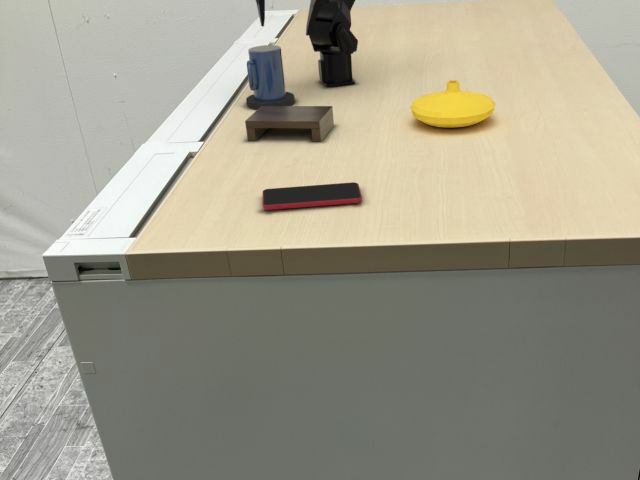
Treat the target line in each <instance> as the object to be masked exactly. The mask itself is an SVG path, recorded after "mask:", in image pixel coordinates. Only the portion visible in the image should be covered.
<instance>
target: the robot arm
mask: <svg viewBox="0 0 640 480" xmlns="http://www.w3.org/2000/svg"><path fill="white" fill-rule="evenodd" d="M355 2H356V0H310V2H309V9H308V15H307V21H306V26H305V36H308V37H309V40H310V43H311V46H312V50H313V52H314V53H319V59H318V60H317V64H318V76H319V77H318V78H319V81H320V82H321V83H322V84H323V86H325V87H326V88H331V87H338V86H346V85H354V84H356V80H354V78H353V65H352V62H353V61H352V55H353V54H354V53H356V52H357V51H358V45H359V40H358V38H357V37H356V36H355V34H353V32H352V30H351V27H352V16H351V11H352V9H353V6H354V4H355ZM255 4H256V7H257V13H258V18H259V22H260V26H261V27H265V21H266V20H265V19H266V6H265V5H266V0H255Z"/></svg>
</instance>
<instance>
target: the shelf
mask: <svg viewBox="0 0 640 480" xmlns="http://www.w3.org/2000/svg"><path fill="white" fill-rule="evenodd" d="M244 123H245V124H244V125H245V129H246V137H247V141H248V142H257V140H259V139H260V138H261V137H262V136H263V135H264V134H265V132H266V131H267V130H269V129H311V139H312V142H313V143H316V142H317V143H321V142H323V140H324V139H325V138H326V136H327V135H328V134H329V133H330V131H331V130H332V128H334V126H335V124H334V123H335V122H334V109H333V106H332V105H290V106H261V107H260V108H259V109H258V110H256V109H255V111H254V112H253V113H252V114H251V115H249V116H248V117H247V119H245V121H244Z"/></svg>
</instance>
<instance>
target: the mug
mask: <svg viewBox="0 0 640 480" xmlns="http://www.w3.org/2000/svg"><path fill="white" fill-rule="evenodd" d="M247 52H248V59H249V60H247V61H246V70H247V79H248V85H249V86H248V87H249V89H250V91H252V92H253V94H254V98H255V100H258V101H276V100H280V99H283V98H285V97H286V92H287V91H286V82H285V81H286V80H285V73H284V72H285V71H284V62H283V54H282V47H281V46H280V45H276V44H273V45H272V44H266V45H265V44H263V45H257V46H253V47H250V48H248V50H247Z"/></svg>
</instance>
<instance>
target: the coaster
mask: <svg viewBox="0 0 640 480" xmlns="http://www.w3.org/2000/svg"><path fill="white" fill-rule="evenodd" d="M245 102H246V106H247V108H249V109H250V110H251V109H252V110H255V111H256V110H258V109H259V108H260V107H261V106H293V105H294V104H295V102H296V99H295V94H294V93H293V92H289V91H286V97H285V98H283V99H280V100H276V101H258V100H255V98H254V93H253V94H251V95H248V96H247V97H246V99H245Z"/></svg>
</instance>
